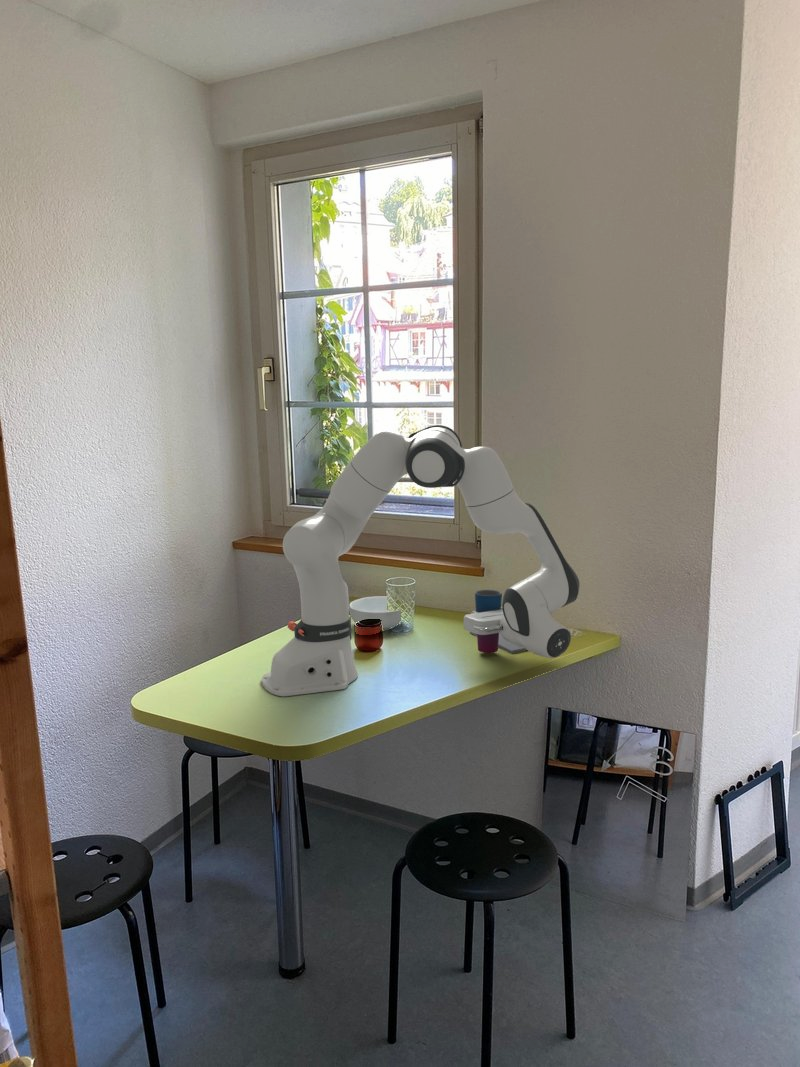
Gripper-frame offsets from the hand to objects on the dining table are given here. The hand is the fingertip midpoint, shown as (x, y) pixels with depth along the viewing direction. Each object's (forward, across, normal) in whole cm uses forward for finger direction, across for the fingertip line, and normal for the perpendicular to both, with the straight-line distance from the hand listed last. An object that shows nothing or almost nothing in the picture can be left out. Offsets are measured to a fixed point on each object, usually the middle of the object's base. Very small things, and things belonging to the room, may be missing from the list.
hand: (486, 612), depth 202 cm
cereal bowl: (+34, -14, -11) cm, 39 cm away
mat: (+6, +11, -11) cm, 17 cm away
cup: (-1, 0, -10) cm, 10 cm away
